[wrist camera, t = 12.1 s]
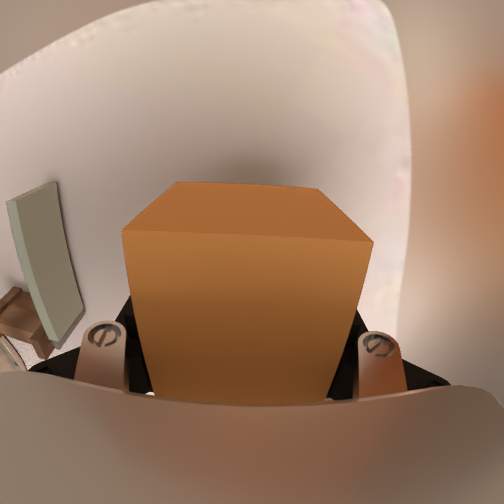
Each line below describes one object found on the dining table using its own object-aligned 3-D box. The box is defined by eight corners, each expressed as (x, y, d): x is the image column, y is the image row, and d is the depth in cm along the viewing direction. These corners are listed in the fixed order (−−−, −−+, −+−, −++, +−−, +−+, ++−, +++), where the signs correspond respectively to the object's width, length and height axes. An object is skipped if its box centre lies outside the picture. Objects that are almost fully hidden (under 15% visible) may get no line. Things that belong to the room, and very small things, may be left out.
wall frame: (20, 304, 24) (-11, 339, 18) (13, 287, 23) (-20, 320, 17) (292, 338, 25) (300, 396, 19) (296, 317, 24) (307, 376, 18)
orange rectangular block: (187, 351, 13) (169, 439, 8) (177, 182, 10) (121, 230, 5) (290, 355, 13) (305, 443, 9) (317, 188, 10) (373, 242, 5)
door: (86, 316, 23) (63, 350, 19) (67, 313, 23) (43, 345, 19) (56, 182, 18) (15, 200, 14) (36, 185, 18) (-3, 203, 14)
